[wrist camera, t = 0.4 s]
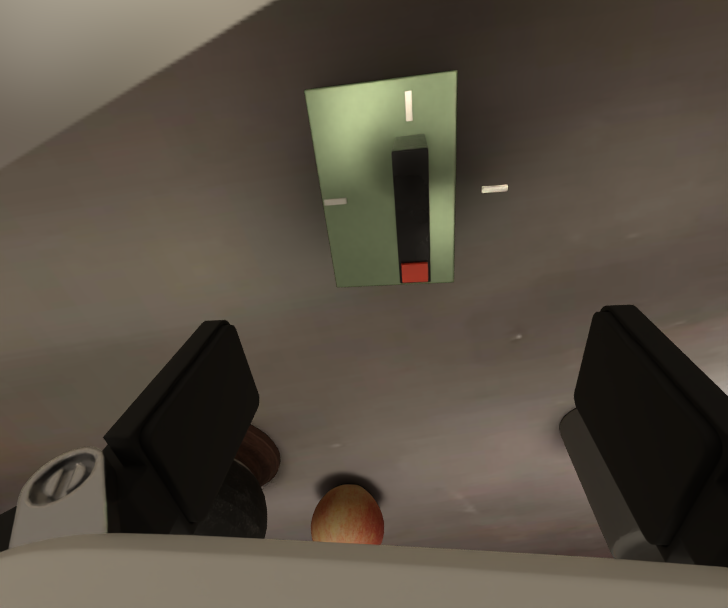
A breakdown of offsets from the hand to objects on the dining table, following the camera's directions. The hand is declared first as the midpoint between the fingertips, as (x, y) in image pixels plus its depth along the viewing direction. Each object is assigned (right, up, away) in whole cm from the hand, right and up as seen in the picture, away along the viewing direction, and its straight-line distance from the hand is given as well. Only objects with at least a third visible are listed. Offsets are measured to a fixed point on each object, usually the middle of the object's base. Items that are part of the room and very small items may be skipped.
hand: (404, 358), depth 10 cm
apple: (-2, -21, +33) cm, 39 cm away
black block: (+2, +8, +12) cm, 14 cm away
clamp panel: (+2, +9, +14) cm, 17 cm away
